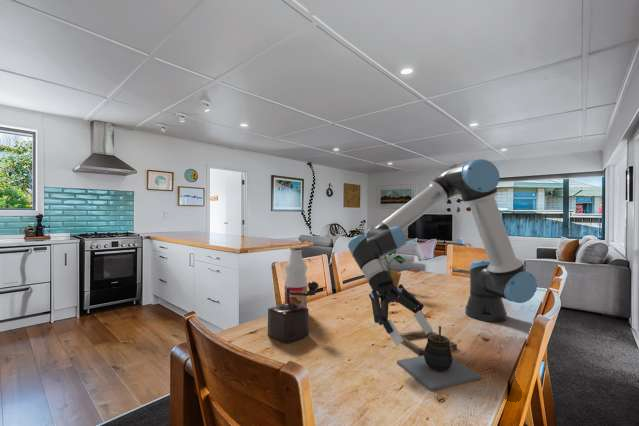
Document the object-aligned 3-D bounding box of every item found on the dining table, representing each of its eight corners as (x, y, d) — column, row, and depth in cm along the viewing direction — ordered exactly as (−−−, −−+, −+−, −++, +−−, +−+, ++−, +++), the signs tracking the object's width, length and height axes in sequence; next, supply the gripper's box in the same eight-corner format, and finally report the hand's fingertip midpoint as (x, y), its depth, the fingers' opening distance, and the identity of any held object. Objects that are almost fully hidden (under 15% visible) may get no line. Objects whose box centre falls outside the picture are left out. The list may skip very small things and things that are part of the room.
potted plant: (373, 294, 158) (373, 236, 157) (372, 286, 176) (373, 234, 176) (408, 296, 155) (409, 237, 154) (404, 287, 173) (405, 234, 173)
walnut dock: (428, 333, 108) (428, 329, 108) (456, 349, 95) (456, 344, 95) (394, 338, 103) (394, 334, 103) (419, 356, 91) (419, 351, 91)
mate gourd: (424, 371, 80) (424, 333, 80) (423, 359, 87) (423, 324, 87) (453, 376, 78) (453, 337, 78) (450, 362, 85) (450, 327, 85)
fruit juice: (311, 313, 128) (311, 247, 127) (293, 319, 121) (294, 248, 121) (297, 308, 134) (297, 245, 134) (280, 313, 128) (280, 246, 128)
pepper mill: (287, 345, 98) (287, 289, 97) (266, 335, 105) (267, 283, 105) (320, 331, 109) (321, 281, 109) (299, 323, 116) (300, 276, 116)
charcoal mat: (442, 354, 92) (442, 352, 92) (481, 378, 78) (481, 375, 78) (396, 363, 86) (396, 360, 86) (430, 390, 73) (430, 387, 73)
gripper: (396, 278, 109) (432, 333, 97) (343, 288, 95) (378, 354, 83) (408, 265, 105) (448, 322, 93) (354, 274, 91) (393, 342, 79)
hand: (415, 337), depth 88 cm, fingers open, 13 cm apart
